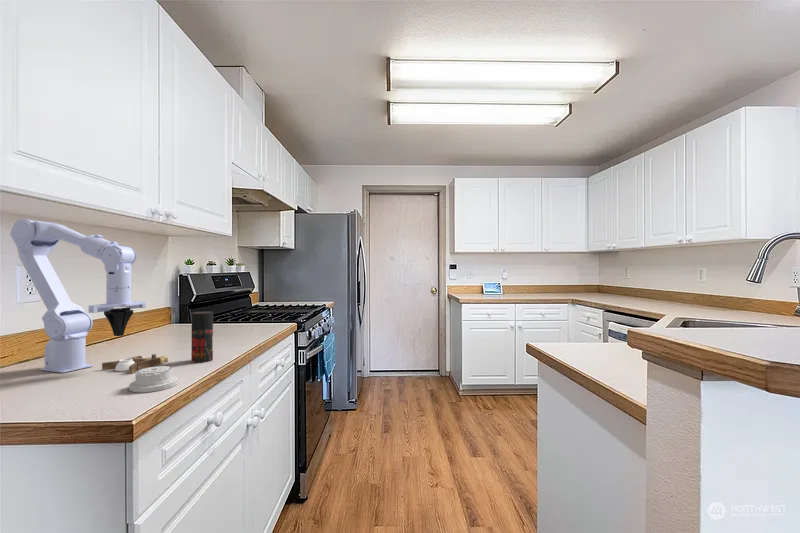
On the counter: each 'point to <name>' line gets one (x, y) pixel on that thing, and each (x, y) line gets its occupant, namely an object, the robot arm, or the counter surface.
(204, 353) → the deodorant
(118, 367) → the white jar
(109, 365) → the gear station
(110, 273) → the robot arm
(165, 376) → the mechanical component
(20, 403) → the counter surface
